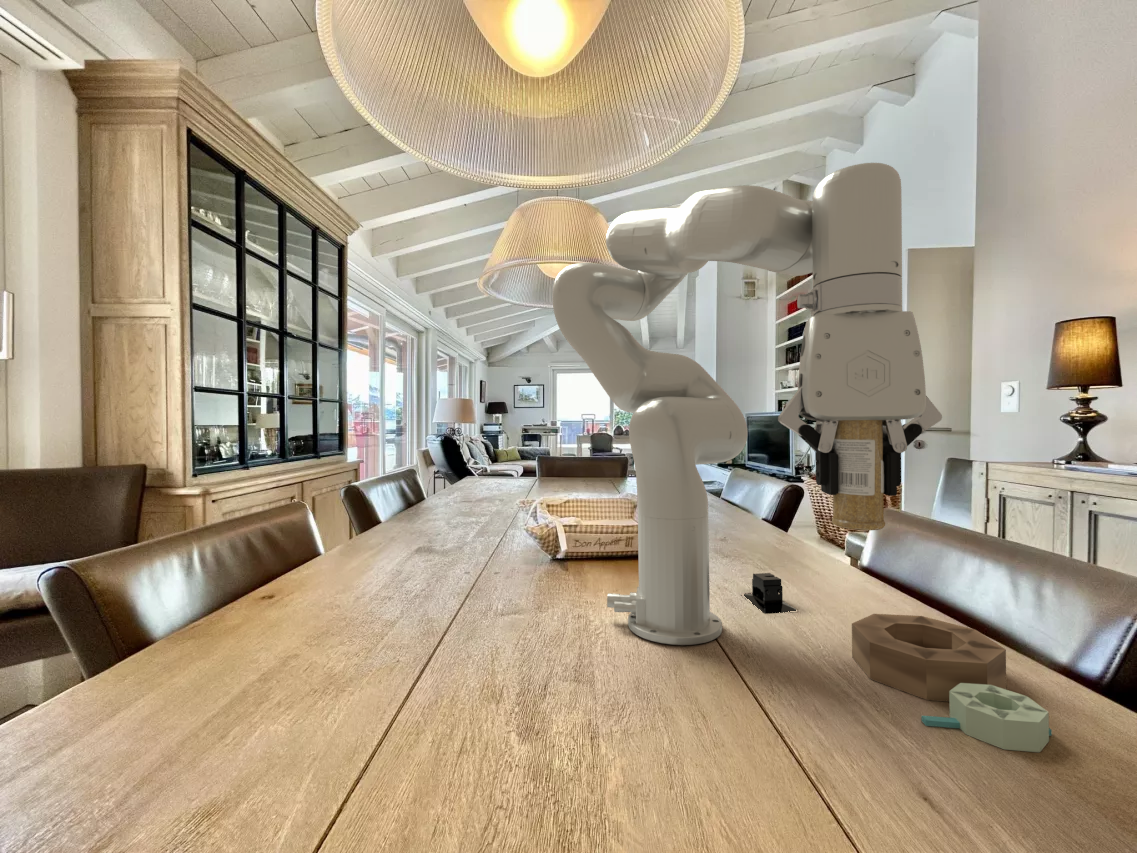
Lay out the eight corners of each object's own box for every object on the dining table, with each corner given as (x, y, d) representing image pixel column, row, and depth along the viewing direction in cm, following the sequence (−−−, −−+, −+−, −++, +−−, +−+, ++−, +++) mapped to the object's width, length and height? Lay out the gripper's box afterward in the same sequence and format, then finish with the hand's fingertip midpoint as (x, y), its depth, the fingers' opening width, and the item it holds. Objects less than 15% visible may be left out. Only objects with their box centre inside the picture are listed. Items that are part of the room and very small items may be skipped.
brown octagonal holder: (885, 696, 53) (884, 657, 53) (841, 644, 65) (840, 612, 65) (1032, 707, 50) (1031, 666, 50) (956, 650, 63) (956, 617, 63)
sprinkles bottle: (894, 527, 49) (893, 386, 49) (869, 533, 47) (868, 384, 47) (846, 520, 53) (846, 389, 53) (821, 525, 51) (820, 387, 51)
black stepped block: (810, 618, 76) (810, 587, 76) (762, 621, 75) (762, 589, 75) (769, 592, 88) (769, 565, 88) (728, 594, 87) (727, 566, 87)
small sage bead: (978, 747, 44) (978, 717, 44) (939, 707, 51) (938, 681, 51) (1065, 754, 43) (1065, 724, 43) (1014, 712, 49) (1013, 686, 49)
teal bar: (925, 725, 47) (925, 720, 47) (921, 720, 48) (921, 715, 48) (1051, 735, 46) (1051, 729, 46) (1045, 730, 46) (1045, 724, 46)
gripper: (771, 299, 48) (772, 497, 48) (977, 288, 45) (979, 500, 45) (757, 315, 55) (758, 487, 55) (933, 307, 52) (935, 490, 52)
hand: (857, 491), depth 50 cm, fingers closed on sprinkles bottle, 4 cm apart
